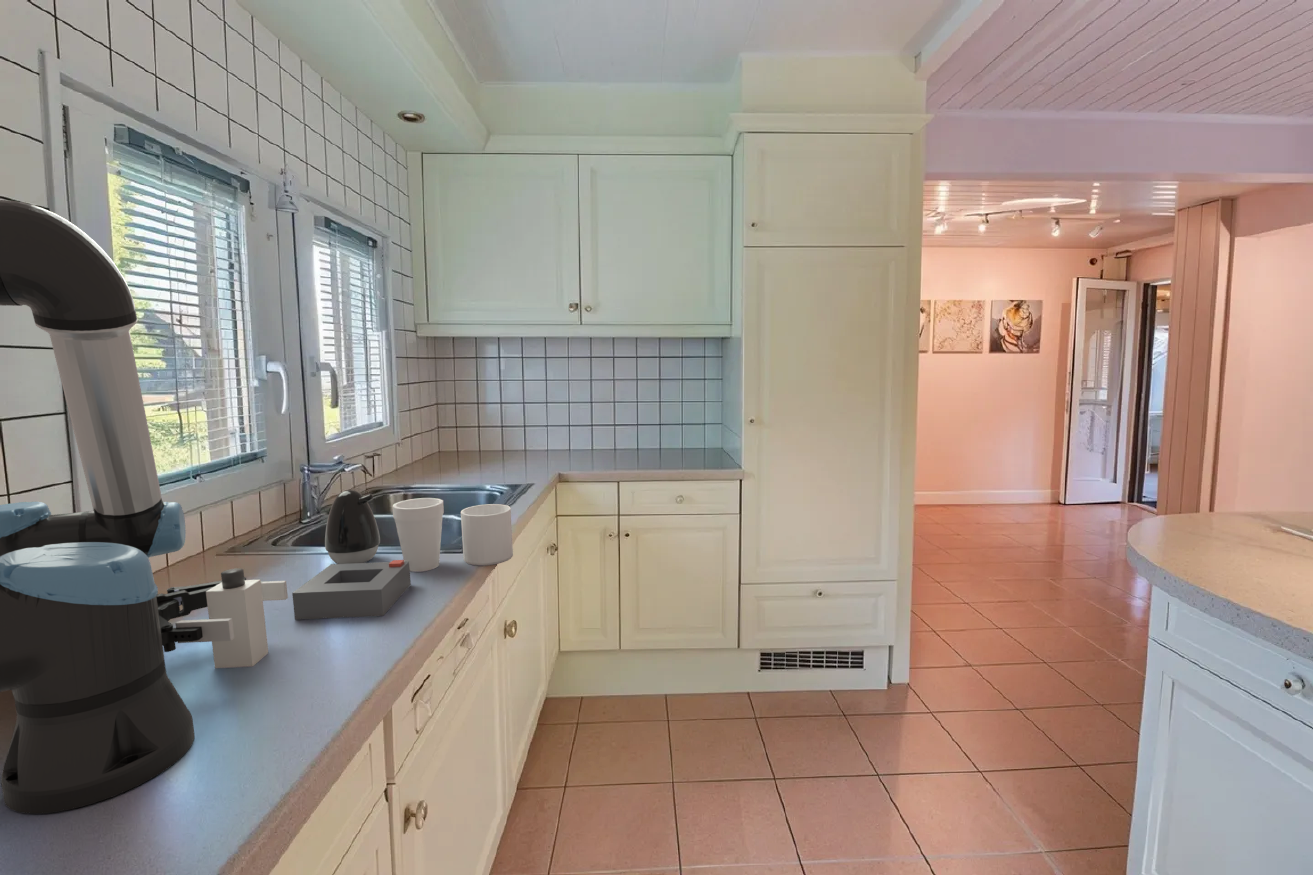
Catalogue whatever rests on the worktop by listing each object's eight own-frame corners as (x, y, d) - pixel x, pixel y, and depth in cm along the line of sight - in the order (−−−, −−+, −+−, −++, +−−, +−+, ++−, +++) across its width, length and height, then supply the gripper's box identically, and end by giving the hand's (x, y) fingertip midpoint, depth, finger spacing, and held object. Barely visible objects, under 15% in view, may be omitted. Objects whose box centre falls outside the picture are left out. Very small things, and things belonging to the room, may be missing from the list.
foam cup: (401, 561, 131) (396, 499, 129) (448, 556, 133) (444, 496, 131) (394, 576, 122) (389, 510, 120) (445, 571, 124) (441, 506, 122)
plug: (252, 666, 87) (242, 575, 85) (215, 668, 87) (204, 577, 85) (268, 652, 91) (259, 565, 89) (232, 654, 91) (222, 567, 89)
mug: (509, 564, 128) (507, 514, 126) (459, 567, 127) (455, 517, 125) (517, 545, 140) (515, 500, 139) (471, 548, 139) (468, 502, 138)
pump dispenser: (361, 571, 125) (355, 496, 123) (315, 569, 127) (308, 495, 125) (392, 555, 135) (387, 485, 133) (349, 553, 137) (343, 484, 135)
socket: (383, 615, 103) (380, 585, 103) (294, 619, 103) (291, 589, 102) (410, 584, 117) (408, 558, 117) (333, 587, 116) (330, 561, 116)
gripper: (167, 605, 100) (306, 599, 101) (20, 688, 75) (206, 679, 76) (161, 559, 99) (301, 554, 100) (10, 628, 74) (199, 620, 75)
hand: (261, 608), depth 88 cm, fingers open, 13 cm apart
